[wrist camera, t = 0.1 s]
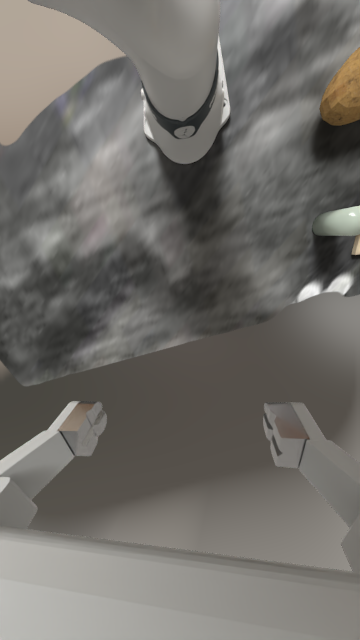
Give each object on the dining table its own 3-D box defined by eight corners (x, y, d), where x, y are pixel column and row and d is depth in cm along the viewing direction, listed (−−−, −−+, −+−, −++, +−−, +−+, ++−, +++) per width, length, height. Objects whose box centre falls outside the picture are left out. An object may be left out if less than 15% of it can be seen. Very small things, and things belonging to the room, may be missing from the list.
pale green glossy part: (314, 213, 44) (346, 207, 34) (337, 210, 43) (378, 202, 33) (310, 237, 46) (340, 237, 36) (332, 234, 45) (369, 233, 35)
